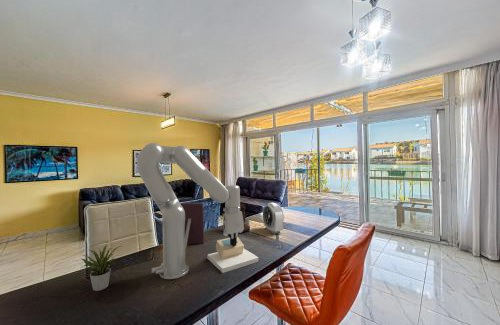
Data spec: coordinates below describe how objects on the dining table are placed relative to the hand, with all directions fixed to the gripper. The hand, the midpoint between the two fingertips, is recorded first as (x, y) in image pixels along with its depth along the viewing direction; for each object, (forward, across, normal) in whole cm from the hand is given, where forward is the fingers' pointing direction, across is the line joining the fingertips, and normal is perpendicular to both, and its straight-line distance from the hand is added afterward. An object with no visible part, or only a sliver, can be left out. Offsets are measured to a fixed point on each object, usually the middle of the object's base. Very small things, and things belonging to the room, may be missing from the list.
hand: (233, 245), depth 112 cm
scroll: (+8, +27, +39) cm, 48 cm away
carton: (+4, 0, +4) cm, 6 cm away
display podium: (+8, 0, 0) cm, 8 cm away
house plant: (+7, -55, +11) cm, 57 cm away
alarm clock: (+8, +46, +24) cm, 52 cm away
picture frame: (+8, -13, +33) cm, 36 cm away
